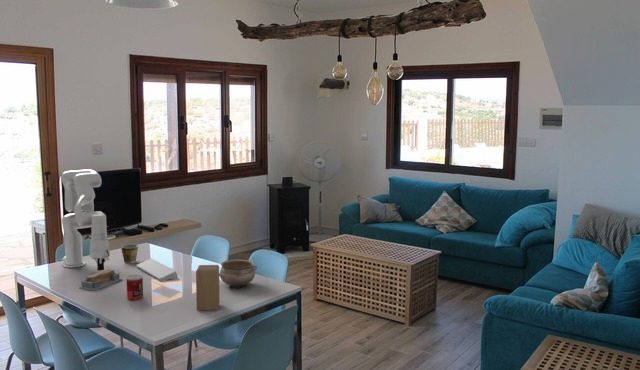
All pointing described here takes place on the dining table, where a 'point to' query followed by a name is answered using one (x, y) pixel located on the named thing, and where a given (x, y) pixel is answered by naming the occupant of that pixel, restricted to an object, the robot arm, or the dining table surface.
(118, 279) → the board
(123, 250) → the ceramic cup
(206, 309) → the wooden block
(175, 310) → the dining table surface
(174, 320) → the dining table surface
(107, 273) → the slat
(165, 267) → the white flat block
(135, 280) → the canned food
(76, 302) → the dining table surface
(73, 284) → the dining table surface
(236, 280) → the cooking pot
